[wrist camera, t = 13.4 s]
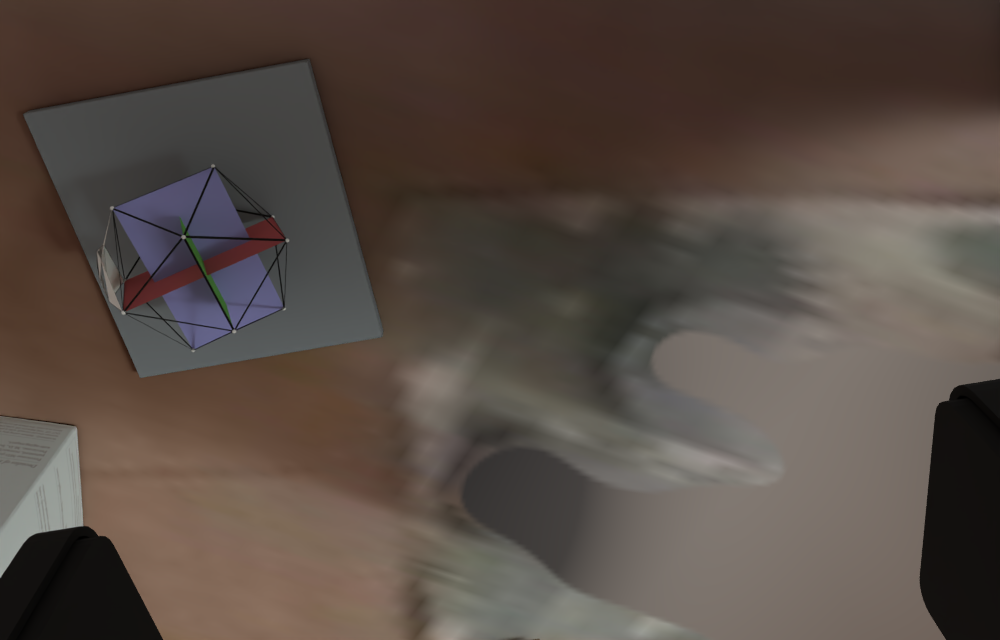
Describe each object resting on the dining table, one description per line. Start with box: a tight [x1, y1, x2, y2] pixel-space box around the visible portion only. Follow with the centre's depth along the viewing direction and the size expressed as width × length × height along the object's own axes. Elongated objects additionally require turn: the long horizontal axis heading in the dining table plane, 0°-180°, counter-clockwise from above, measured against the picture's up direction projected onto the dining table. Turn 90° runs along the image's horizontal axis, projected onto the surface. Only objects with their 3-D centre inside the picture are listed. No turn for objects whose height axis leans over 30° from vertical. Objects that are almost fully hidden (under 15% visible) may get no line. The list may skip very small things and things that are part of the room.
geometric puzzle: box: [97, 164, 289, 352], centre depth 34 cm, size 7×7×8 cm
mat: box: [23, 59, 383, 378], centre depth 37 cm, size 12×13×1 cm
